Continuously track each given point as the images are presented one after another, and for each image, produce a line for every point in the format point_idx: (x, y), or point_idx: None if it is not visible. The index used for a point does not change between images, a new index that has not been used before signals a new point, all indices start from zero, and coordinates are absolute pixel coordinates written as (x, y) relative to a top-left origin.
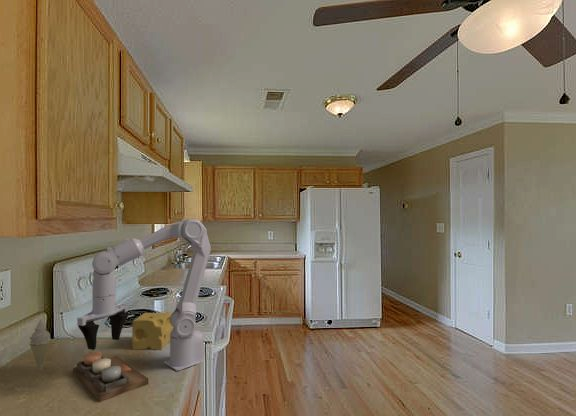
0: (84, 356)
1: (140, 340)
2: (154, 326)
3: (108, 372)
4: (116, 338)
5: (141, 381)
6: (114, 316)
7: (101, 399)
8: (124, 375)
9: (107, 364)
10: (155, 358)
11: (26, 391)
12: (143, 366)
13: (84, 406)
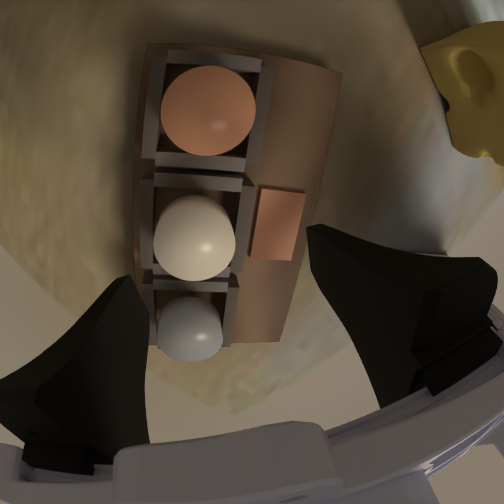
0: (165, 98)
1: (455, 77)
2: None
3: (173, 352)
4: (314, 268)
5: (258, 341)
6: (403, 368)
7: None
8: (228, 329)
9: (205, 276)
10: (407, 190)
11: (4, 103)
12: (350, 215)
13: None
